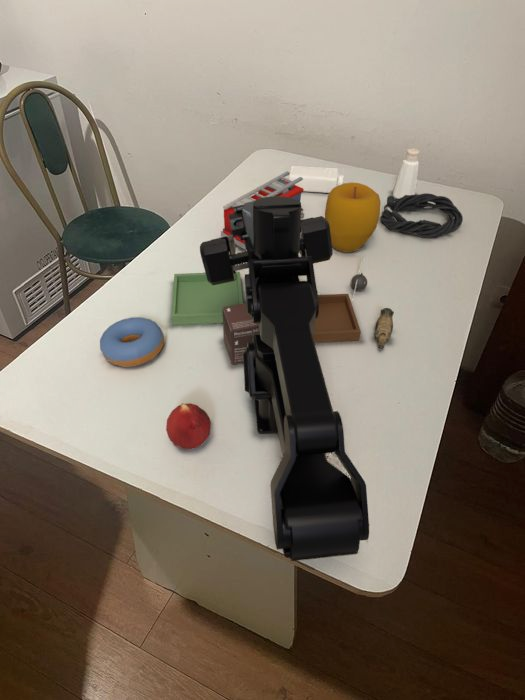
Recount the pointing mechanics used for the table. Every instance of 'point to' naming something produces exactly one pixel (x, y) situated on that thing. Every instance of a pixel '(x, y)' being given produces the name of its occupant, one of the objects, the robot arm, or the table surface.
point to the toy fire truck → (266, 190)
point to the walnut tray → (335, 320)
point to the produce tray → (202, 298)
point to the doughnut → (143, 338)
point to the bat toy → (359, 281)
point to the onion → (188, 426)
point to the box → (237, 331)
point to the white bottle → (316, 178)
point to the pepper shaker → (407, 175)
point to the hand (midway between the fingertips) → (260, 231)
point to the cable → (420, 203)
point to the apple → (352, 215)
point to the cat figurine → (384, 327)
